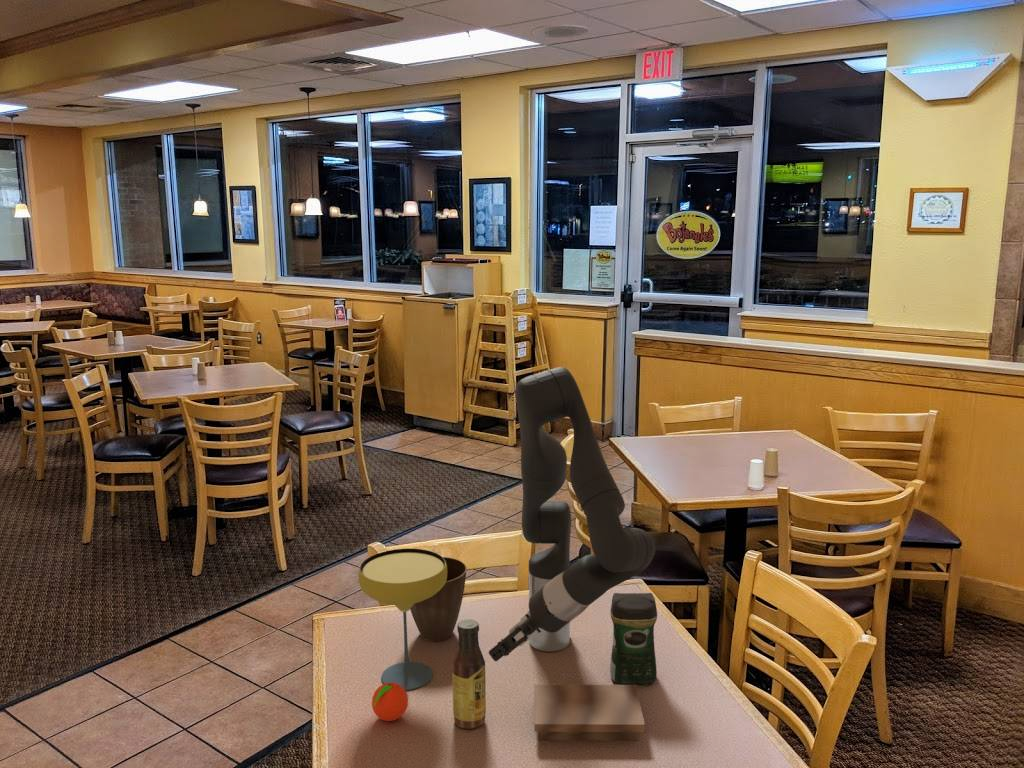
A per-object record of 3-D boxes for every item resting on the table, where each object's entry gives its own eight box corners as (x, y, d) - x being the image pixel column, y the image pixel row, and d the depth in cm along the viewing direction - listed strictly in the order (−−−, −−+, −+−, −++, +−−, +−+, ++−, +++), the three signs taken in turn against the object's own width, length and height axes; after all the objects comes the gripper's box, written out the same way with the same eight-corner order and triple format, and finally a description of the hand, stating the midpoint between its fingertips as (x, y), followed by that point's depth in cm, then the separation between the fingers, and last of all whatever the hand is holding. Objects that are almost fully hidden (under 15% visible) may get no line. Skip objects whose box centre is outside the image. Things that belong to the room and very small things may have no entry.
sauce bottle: (481, 732, 151) (479, 634, 147) (449, 729, 152) (446, 631, 149) (489, 712, 157) (488, 618, 154) (458, 709, 159) (456, 615, 155)
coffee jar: (653, 667, 173) (655, 586, 169) (658, 688, 165) (661, 603, 162) (607, 667, 173) (608, 586, 170) (611, 688, 165) (612, 603, 162)
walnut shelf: (534, 743, 148) (534, 724, 147) (534, 702, 160) (534, 684, 160) (644, 744, 147) (644, 724, 146) (635, 703, 160) (635, 684, 159)
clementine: (389, 736, 150) (387, 701, 149) (361, 724, 154) (359, 690, 153) (416, 714, 157) (414, 681, 156) (388, 703, 161) (387, 671, 159)
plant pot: (407, 654, 179) (404, 586, 176) (400, 622, 194) (398, 560, 191) (473, 645, 183) (472, 579, 180) (461, 615, 197) (460, 553, 194)
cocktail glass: (379, 710, 159) (374, 591, 154) (352, 667, 174) (347, 558, 170) (463, 685, 167) (461, 572, 162) (431, 646, 182) (427, 542, 178)
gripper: (564, 568, 147) (510, 612, 155) (528, 599, 135) (471, 646, 143) (591, 601, 146) (535, 645, 153) (556, 636, 133) (497, 681, 141)
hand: (504, 645), depth 148 cm, fingers open, 8 cm apart
